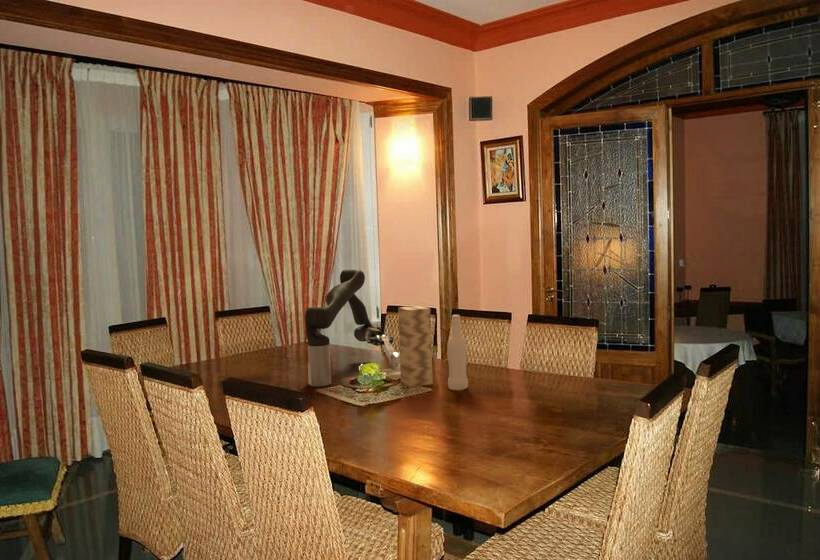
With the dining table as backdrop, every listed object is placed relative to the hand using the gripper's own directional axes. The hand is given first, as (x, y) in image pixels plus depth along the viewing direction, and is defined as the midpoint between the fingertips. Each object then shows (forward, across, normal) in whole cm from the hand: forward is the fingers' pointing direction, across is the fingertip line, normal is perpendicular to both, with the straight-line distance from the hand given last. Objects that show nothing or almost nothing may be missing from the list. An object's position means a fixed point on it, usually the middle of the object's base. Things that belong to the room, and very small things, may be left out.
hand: (387, 342), depth 296 cm
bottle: (+44, +14, +14) cm, 48 cm away
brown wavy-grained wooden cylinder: (+27, +3, +14) cm, 30 cm away
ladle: (+3, 0, +6) cm, 7 cm away
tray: (+11, 0, +14) cm, 18 cm away
